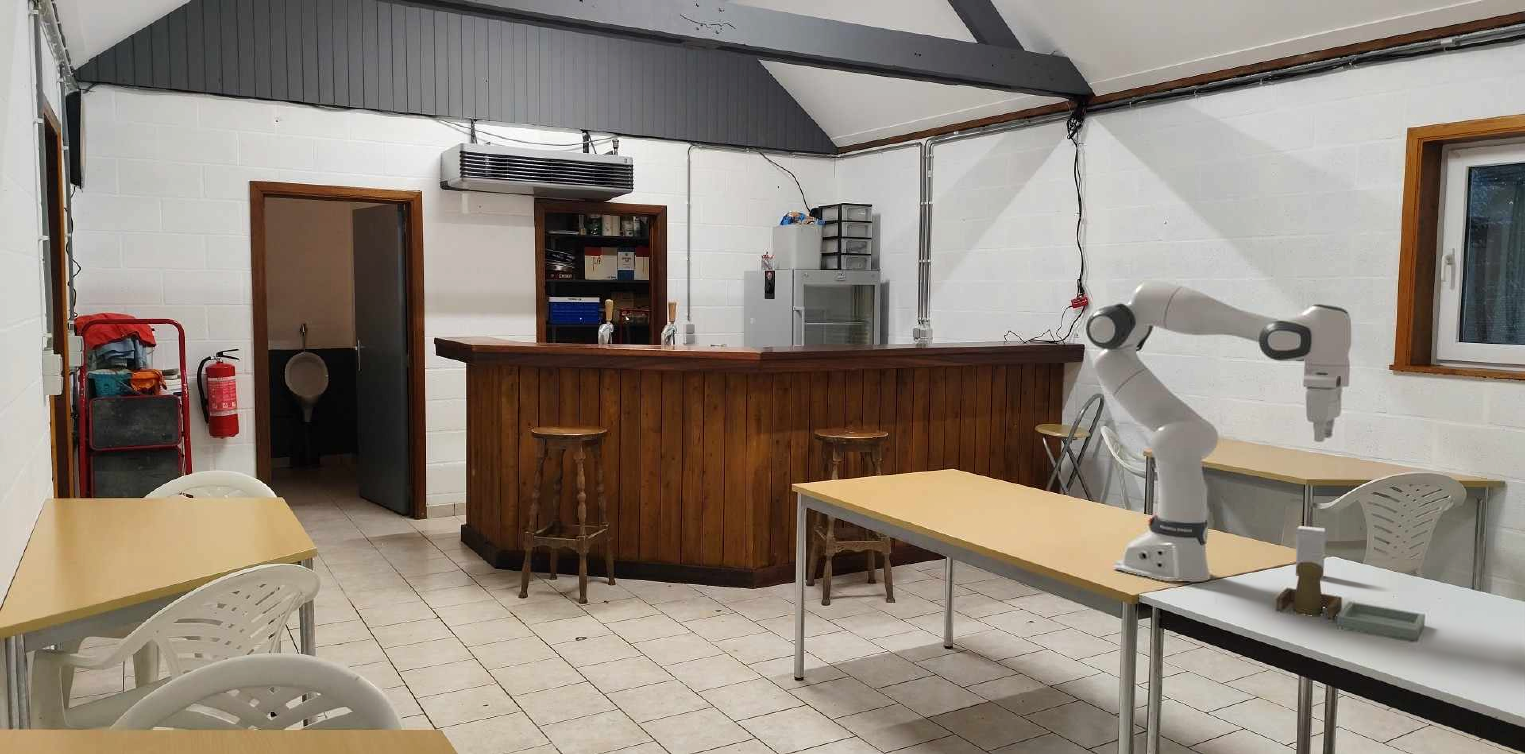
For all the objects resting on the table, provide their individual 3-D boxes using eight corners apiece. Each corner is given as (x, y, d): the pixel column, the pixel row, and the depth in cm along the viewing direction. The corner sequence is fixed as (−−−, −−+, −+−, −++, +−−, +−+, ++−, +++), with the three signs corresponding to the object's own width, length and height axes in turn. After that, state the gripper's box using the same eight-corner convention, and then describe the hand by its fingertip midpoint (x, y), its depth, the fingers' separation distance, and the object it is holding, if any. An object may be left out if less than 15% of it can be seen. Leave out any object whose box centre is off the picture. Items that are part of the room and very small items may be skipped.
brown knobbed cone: (1327, 617, 218) (1330, 567, 217) (1296, 615, 219) (1299, 565, 218) (1317, 609, 223) (1320, 560, 223) (1288, 607, 225) (1290, 558, 224)
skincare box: (1323, 575, 252) (1326, 528, 251) (1322, 579, 249) (1325, 531, 248) (1296, 571, 255) (1298, 525, 255) (1294, 575, 252) (1297, 528, 251)
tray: (1337, 627, 210) (1337, 616, 210) (1348, 612, 221) (1349, 601, 221) (1416, 642, 202) (1417, 630, 202) (1424, 625, 213) (1425, 614, 212)
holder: (1275, 611, 221) (1276, 597, 221) (1286, 600, 230) (1287, 587, 229) (1332, 621, 215) (1333, 607, 214) (1341, 610, 223) (1341, 597, 222)
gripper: (1319, 375, 234) (1316, 434, 235) (1301, 379, 218) (1298, 442, 219) (1350, 376, 230) (1346, 436, 231) (1334, 380, 214) (1331, 445, 215)
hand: (1323, 439), depth 225 cm, fingers open, 8 cm apart
